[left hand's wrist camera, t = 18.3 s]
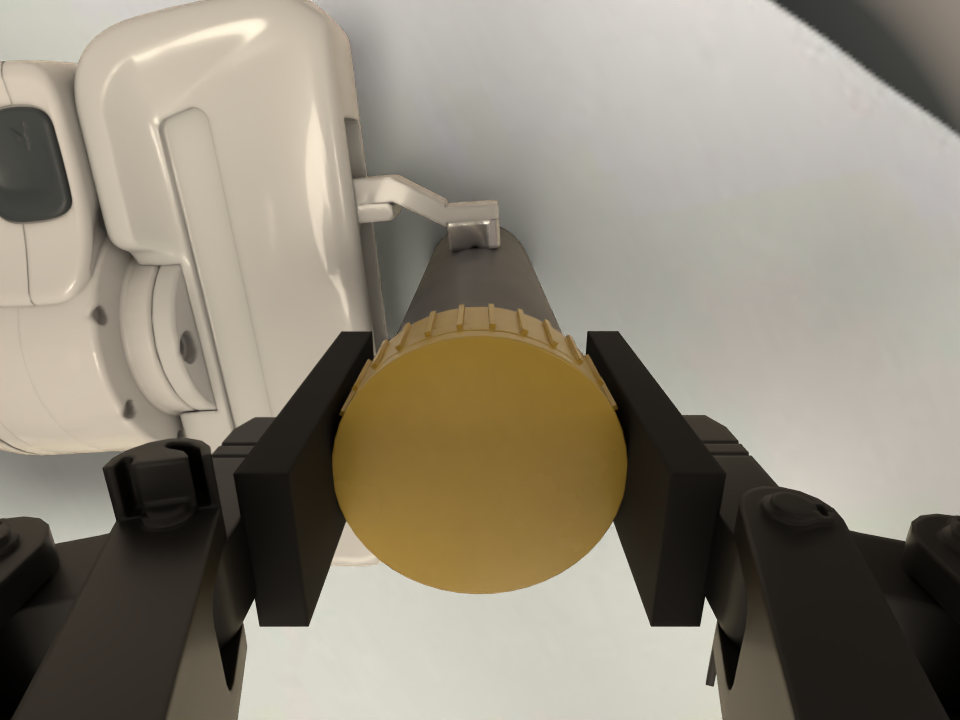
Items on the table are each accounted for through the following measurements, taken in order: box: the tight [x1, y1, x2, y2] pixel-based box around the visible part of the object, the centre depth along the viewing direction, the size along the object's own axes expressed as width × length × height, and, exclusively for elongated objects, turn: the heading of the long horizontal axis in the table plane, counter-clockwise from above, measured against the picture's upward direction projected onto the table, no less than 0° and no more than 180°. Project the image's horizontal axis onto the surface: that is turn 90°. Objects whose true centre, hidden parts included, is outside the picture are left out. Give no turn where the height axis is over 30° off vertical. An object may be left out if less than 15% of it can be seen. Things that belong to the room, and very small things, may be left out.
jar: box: [397, 227, 562, 334], centre depth 19 cm, size 5×5×17 cm
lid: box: [332, 304, 628, 594], centre depth 11 cm, size 6×6×2 cm
